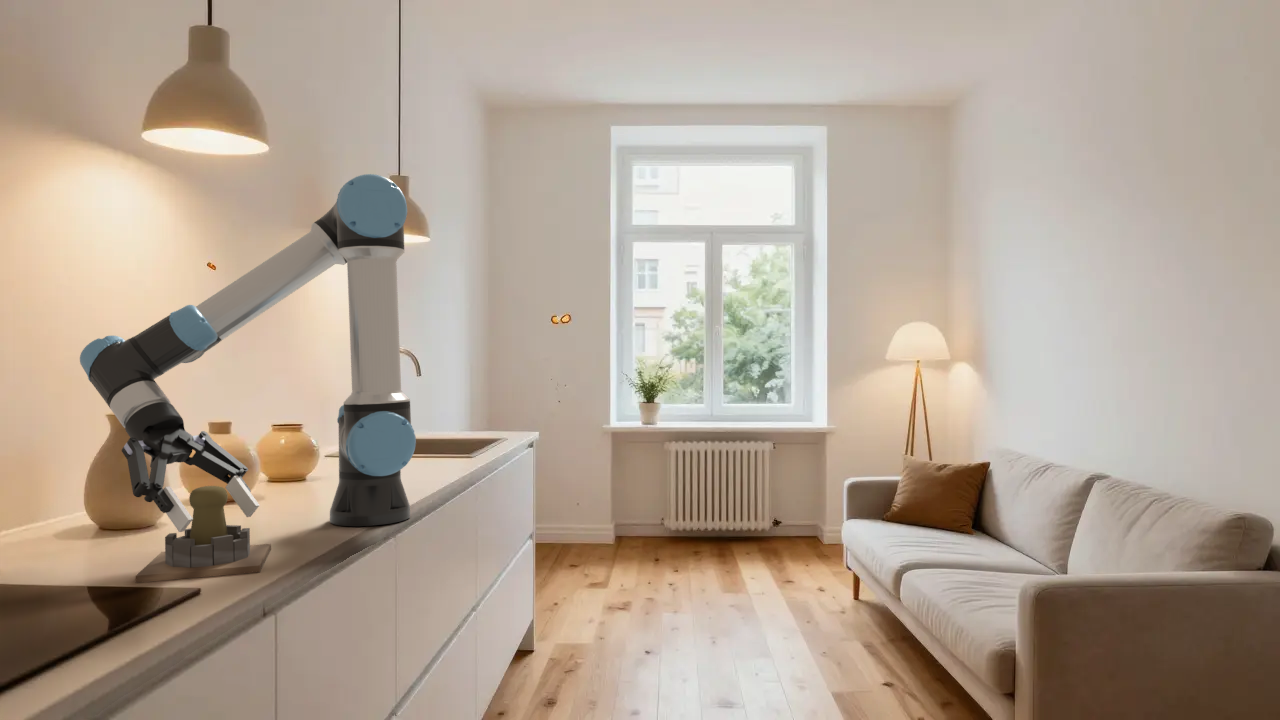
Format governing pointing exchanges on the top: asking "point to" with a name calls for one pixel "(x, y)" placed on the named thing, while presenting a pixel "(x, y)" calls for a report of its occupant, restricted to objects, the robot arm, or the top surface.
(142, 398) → the robot arm
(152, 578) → the collar
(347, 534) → the top surface
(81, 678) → the top surface
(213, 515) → the cork
